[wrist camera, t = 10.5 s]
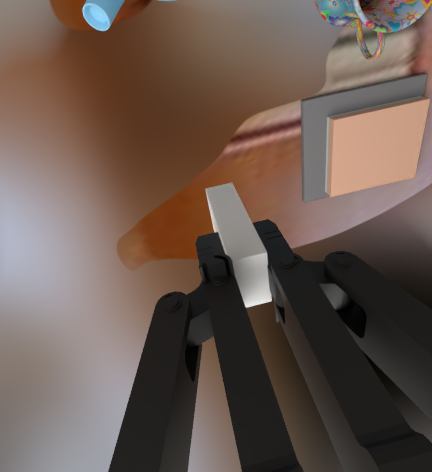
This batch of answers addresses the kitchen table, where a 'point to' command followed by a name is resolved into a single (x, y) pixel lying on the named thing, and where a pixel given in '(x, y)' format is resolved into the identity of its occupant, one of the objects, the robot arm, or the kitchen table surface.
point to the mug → (372, 17)
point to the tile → (374, 145)
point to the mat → (338, 103)
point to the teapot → (102, 12)
